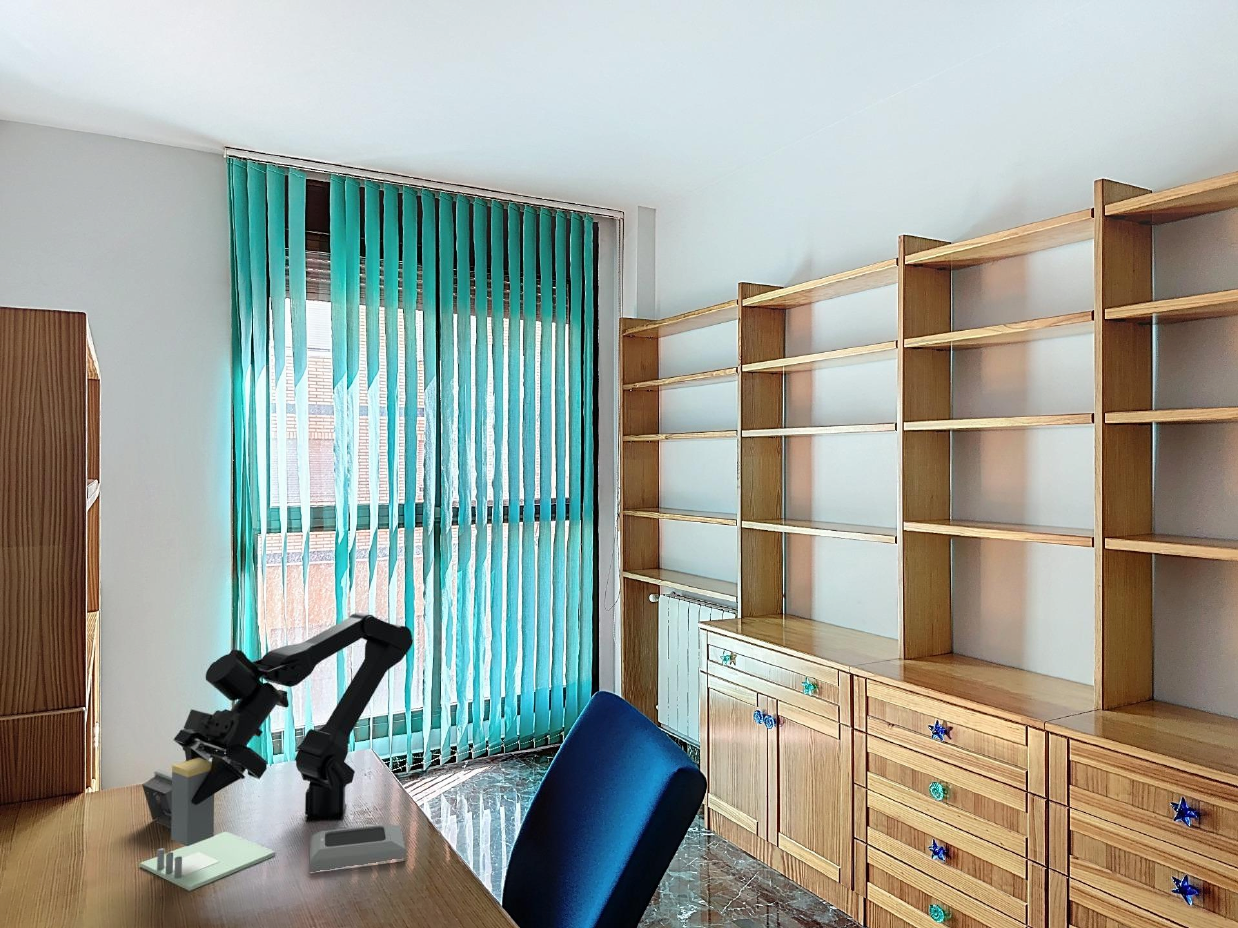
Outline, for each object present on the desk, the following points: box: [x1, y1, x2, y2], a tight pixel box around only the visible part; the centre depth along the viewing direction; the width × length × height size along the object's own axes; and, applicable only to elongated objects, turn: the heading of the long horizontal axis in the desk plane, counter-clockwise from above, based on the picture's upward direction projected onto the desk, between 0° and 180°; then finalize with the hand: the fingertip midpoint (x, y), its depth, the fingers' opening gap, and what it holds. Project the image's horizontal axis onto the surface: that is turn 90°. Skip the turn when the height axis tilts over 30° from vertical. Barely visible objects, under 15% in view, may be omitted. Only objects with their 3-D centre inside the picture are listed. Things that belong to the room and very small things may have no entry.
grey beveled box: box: [309, 823, 406, 873], centre depth 147 cm, size 10×4×15 cm
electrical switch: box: [141, 769, 172, 829], centre depth 158 cm, size 9×5×9 cm, turn 57°
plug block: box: [170, 758, 215, 847], centre depth 141 cm, size 4×4×12 cm
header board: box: [139, 831, 276, 891], centre depth 144 cm, size 15×14×4 cm
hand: (184, 799), depth 140 cm, fingers closed on plug block, 4 cm apart
